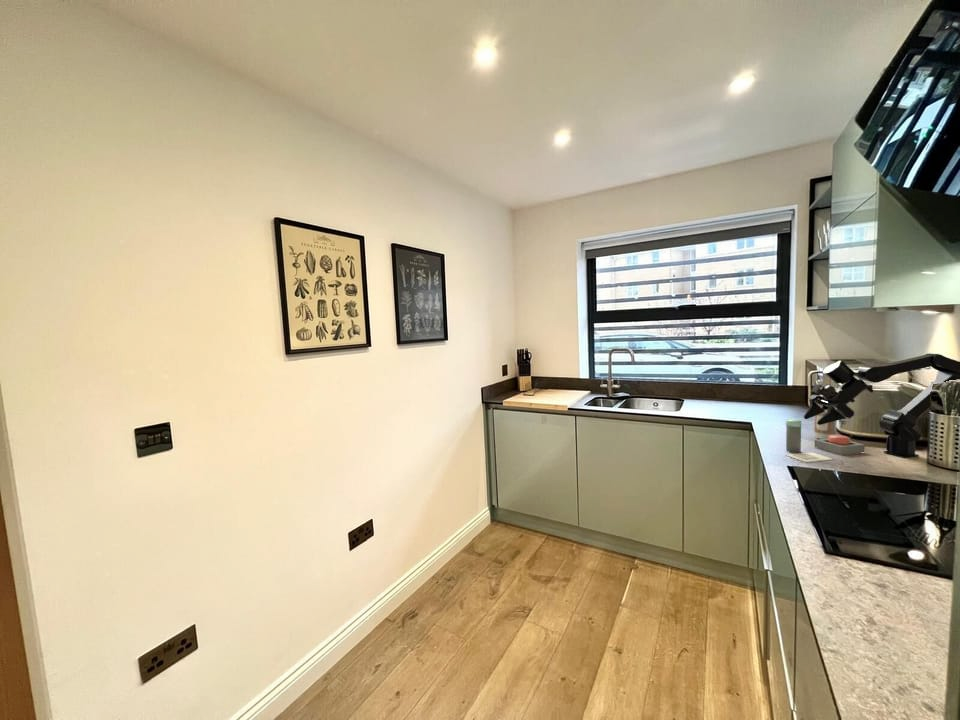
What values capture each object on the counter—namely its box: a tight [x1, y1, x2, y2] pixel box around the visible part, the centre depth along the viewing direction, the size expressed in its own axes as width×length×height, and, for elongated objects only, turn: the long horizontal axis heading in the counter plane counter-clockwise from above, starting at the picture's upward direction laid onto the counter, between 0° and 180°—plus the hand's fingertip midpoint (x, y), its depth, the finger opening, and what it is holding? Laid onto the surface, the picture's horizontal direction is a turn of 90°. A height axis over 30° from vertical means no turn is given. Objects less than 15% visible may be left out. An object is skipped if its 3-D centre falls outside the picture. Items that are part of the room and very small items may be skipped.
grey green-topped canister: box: [785, 418, 802, 454], centre depth 151 cm, size 5×5×12 cm
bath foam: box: [813, 395, 837, 440], centre depth 165 cm, size 7×7×20 cm
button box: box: [814, 439, 865, 456], centre depth 151 cm, size 10×10×3 cm
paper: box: [786, 451, 834, 463], centre depth 144 cm, size 8×11×1 cm
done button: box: [828, 434, 851, 446], centre depth 150 cm, size 6×6×4 cm
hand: (811, 421), depth 149 cm, fingers open, 9 cm apart
